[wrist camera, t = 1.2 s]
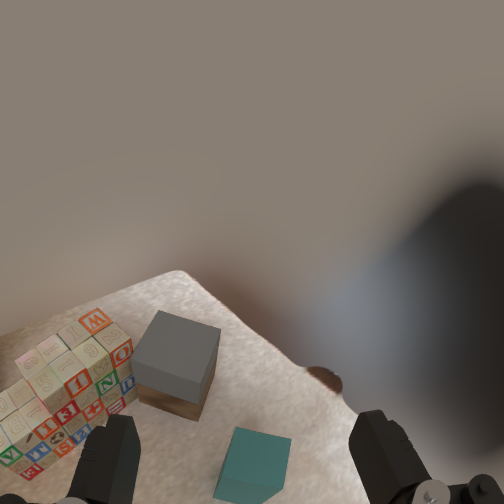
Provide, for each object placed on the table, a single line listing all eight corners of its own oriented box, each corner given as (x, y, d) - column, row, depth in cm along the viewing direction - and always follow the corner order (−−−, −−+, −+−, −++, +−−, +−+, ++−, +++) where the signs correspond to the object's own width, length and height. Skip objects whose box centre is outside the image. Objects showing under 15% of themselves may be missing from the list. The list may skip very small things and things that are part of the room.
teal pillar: (212, 497, 26) (222, 476, 20) (223, 462, 31) (235, 426, 24) (256, 507, 26) (282, 488, 19) (264, 471, 30) (291, 438, 24)
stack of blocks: (30, 483, 21) (-23, 447, 14) (4, 445, 23) (-46, 399, 16) (143, 393, 37) (131, 336, 30) (113, 365, 39) (97, 304, 32)
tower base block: (139, 401, 35) (134, 383, 33) (161, 358, 42) (159, 336, 39) (197, 422, 35) (198, 405, 32) (214, 375, 41) (217, 354, 39)
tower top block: (135, 382, 33) (129, 358, 30) (160, 336, 39) (158, 310, 37) (198, 404, 32) (200, 383, 29) (217, 354, 39) (221, 329, 36)
